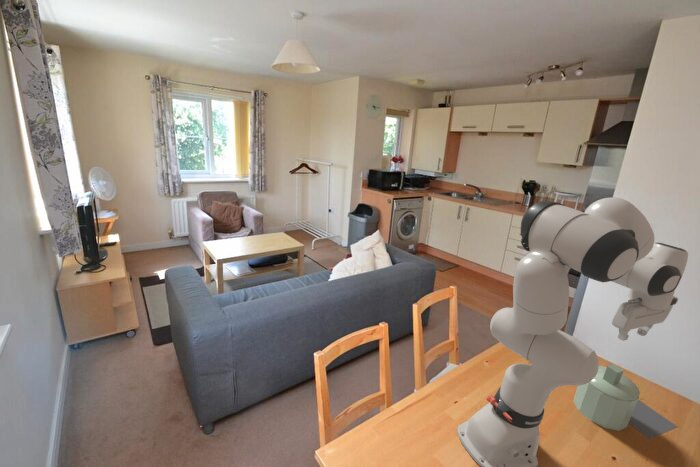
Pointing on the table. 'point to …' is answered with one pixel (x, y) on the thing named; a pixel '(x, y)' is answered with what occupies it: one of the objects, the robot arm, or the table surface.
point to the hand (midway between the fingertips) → (631, 336)
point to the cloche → (608, 398)
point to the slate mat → (649, 421)
